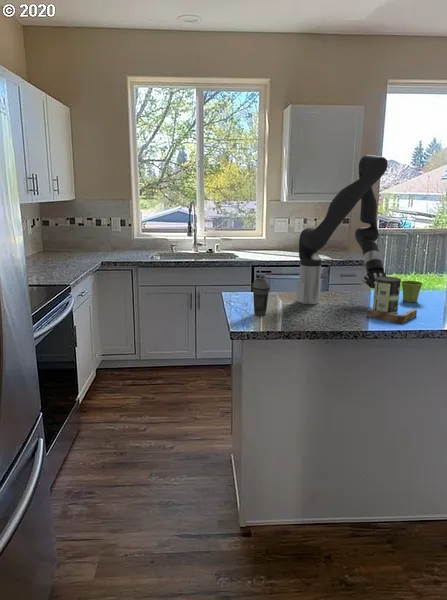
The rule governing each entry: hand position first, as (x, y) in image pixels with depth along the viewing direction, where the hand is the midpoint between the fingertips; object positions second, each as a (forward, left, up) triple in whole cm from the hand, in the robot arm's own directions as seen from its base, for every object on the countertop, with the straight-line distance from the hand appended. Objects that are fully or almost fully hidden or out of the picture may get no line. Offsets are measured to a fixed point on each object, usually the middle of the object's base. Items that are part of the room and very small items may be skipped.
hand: (380, 295), depth 198 cm
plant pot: (+21, +5, -5) cm, 23 cm away
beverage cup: (-55, +8, -5) cm, 55 cm away
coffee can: (-2, -5, -5) cm, 8 cm away
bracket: (-6, -17, -5) cm, 19 cm away
